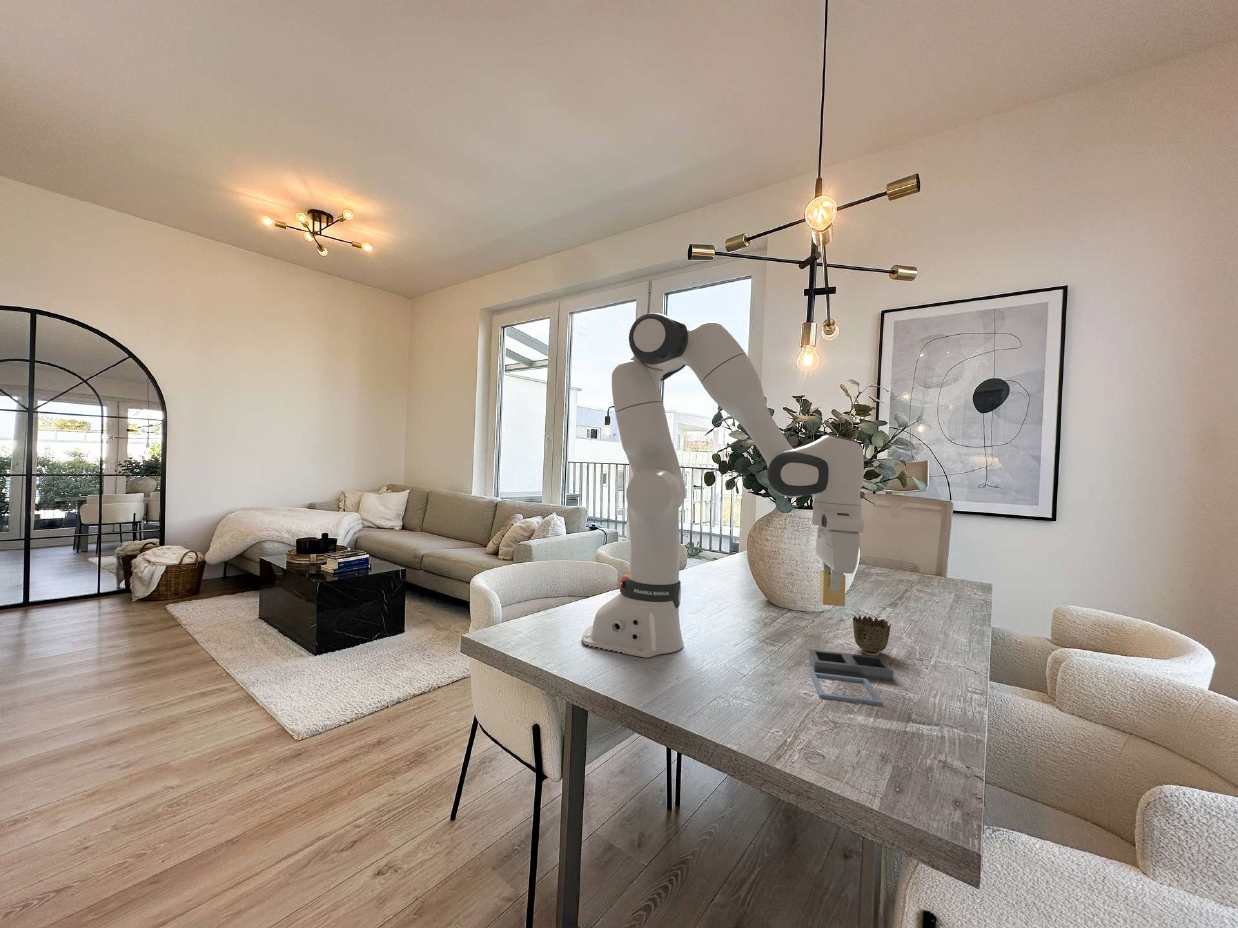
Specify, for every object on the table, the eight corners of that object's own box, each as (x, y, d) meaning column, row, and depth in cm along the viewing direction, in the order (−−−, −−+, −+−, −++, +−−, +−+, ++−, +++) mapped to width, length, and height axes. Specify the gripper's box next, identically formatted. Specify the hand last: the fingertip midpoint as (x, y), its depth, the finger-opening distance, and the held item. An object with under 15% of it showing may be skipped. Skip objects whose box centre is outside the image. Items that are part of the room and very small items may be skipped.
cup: (894, 665, 106) (895, 627, 106) (856, 661, 108) (857, 623, 108) (883, 652, 114) (884, 617, 114) (847, 649, 115) (849, 613, 115)
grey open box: (814, 677, 98) (814, 661, 98) (808, 663, 105) (808, 649, 105) (892, 686, 96) (893, 670, 96) (881, 672, 102) (882, 657, 102)
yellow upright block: (822, 604, 100) (823, 572, 100) (819, 599, 104) (820, 568, 104) (844, 606, 99) (845, 574, 99) (840, 601, 103) (841, 570, 103)
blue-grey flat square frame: (819, 703, 87) (819, 694, 87) (809, 679, 97) (810, 671, 97) (882, 711, 85) (882, 702, 85) (866, 686, 95) (866, 678, 95)
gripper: (810, 511, 112) (806, 574, 112) (829, 521, 92) (824, 597, 92) (841, 514, 111) (837, 577, 111) (867, 524, 91) (861, 601, 91)
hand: (831, 586), depth 101 cm, fingers closed on yellow upright block, 4 cm apart
